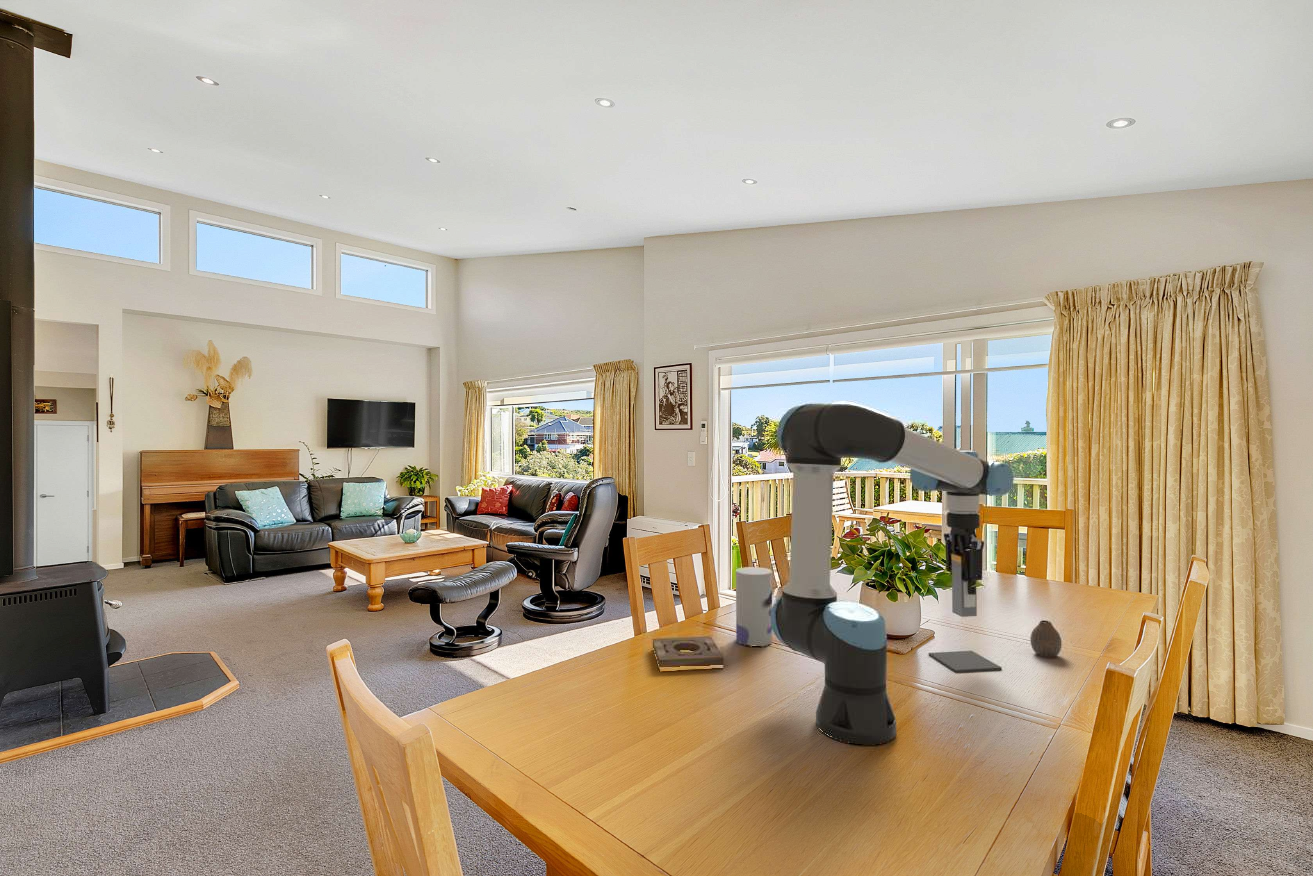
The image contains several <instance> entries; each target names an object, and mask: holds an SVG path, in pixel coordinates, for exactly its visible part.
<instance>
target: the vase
mask: <svg viewBox="0 0 1313 876" xmlns="http://www.w3.org/2000/svg"><path fill="white" fill-rule="evenodd" d="M1030 645H1031V648H1032V650H1033V651H1034V653H1035V654H1036V655H1038V656H1040V657H1042V658H1050V659H1052V658H1055V657H1057V656H1058V655H1059V654H1060V653H1061V650H1062V647H1063V646H1062V645H1063V644H1062V637H1061V635H1060V633H1059V632H1058V631H1057V629H1056V628H1055V627H1054V625H1053V623H1052V622H1051V621H1049V620H1046V619H1045V620H1043V619H1042V620H1040V621H1039V623H1038V624H1037V625H1036V626H1035V627H1034V628H1033V629H1032V631H1031V634H1030Z"/></svg>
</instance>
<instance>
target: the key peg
mask: <svg viewBox="0 0 1313 876" xmlns="http://www.w3.org/2000/svg"><path fill="white" fill-rule="evenodd" d="M951 558H952V575H951V594H952V595H951V598H952V599H951V600H952V601H951V603H952V605H951V606H952V609H951V610H952V613H953V614H955V615H957V616H959V617H962V618H964V617H977V616H978V612H977V611H978V610H977V607H978V606H977V599H978V597H977V592H976V594H975V600H976V607H964V597H963V579H966V578H965V571H964V557H963V555H962V554H951Z"/></svg>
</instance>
